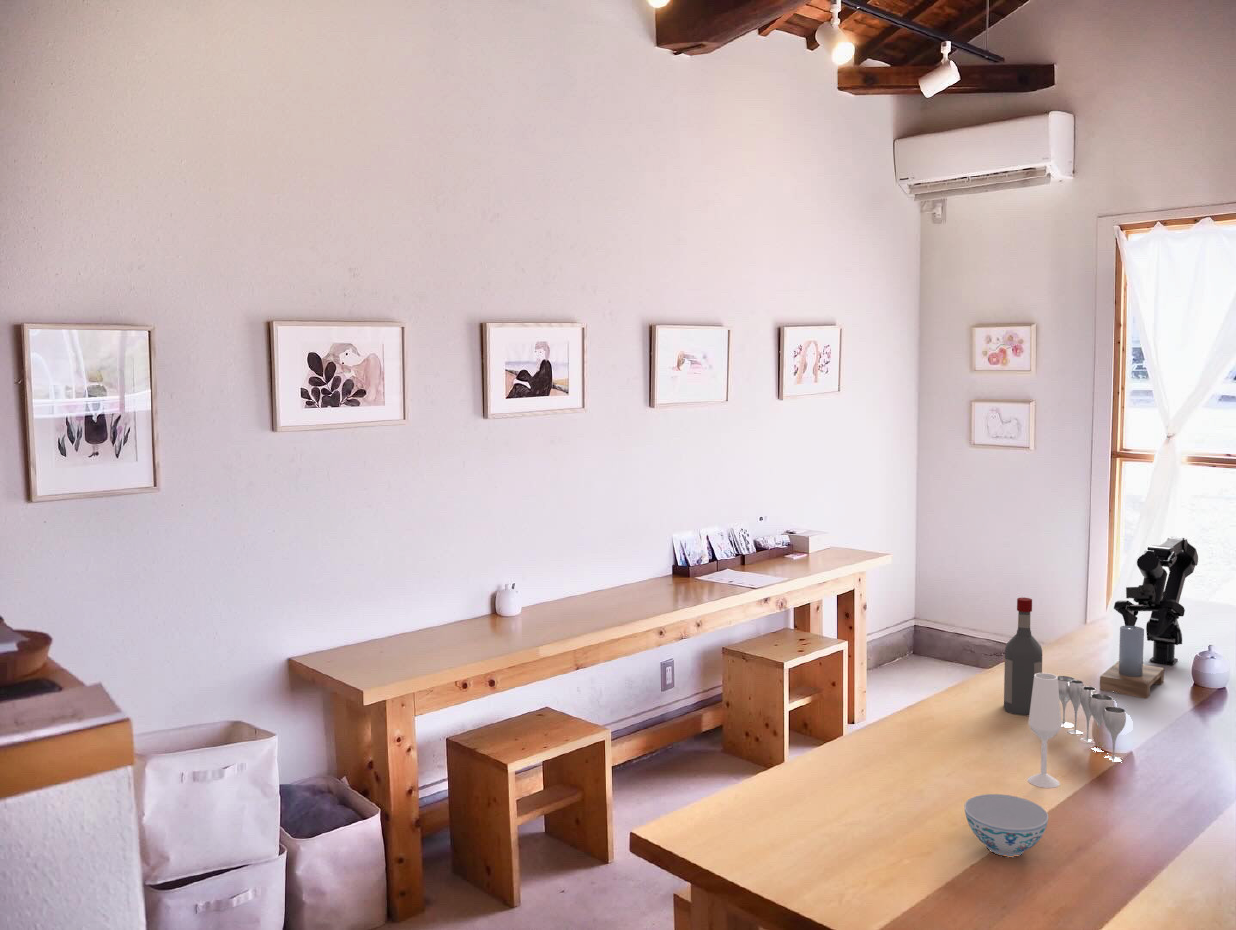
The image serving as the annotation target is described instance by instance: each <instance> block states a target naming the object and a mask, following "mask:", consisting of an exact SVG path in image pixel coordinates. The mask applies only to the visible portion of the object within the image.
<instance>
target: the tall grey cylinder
mask: <svg viewBox="0 0 1236 930" xmlns="http://www.w3.org/2000/svg"><path fill="white" fill-rule="evenodd" d="M1144 636H1145V628H1143V627H1141V626H1136V625H1135V626H1125V625H1121V626H1120V627H1119V651H1118V661H1119V674H1121V675H1124V676H1128V677H1141V676H1142V675H1143V665H1144V643H1145V642H1144V641H1145V638H1144Z"/></svg>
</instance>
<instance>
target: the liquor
mask: <svg viewBox="0 0 1236 930" xmlns="http://www.w3.org/2000/svg"><path fill="white" fill-rule="evenodd" d="M1016 611H1017V613H1018V614H1017V615H1018V616H1017V617H1018V618H1017V630H1016V633H1015V634H1014V635H1013V637H1011V639H1009V641H1008V642H1007V643H1006V645H1005V649H1004V677H1003V678H1004V680H1003V681H1004V683H1003V684H1004V687H1003V709H1004V711H1005V712H1007V713H1008V714H1009V713H1010V714H1012V715H1018V716H1019V715H1020V716H1027V715H1029V714H1030V706H1031V698H1032V690H1033V682H1034V675H1035V674H1037V673H1043V648H1042V645H1041V644H1040V643H1039V642H1038V641H1037V639H1035V637H1034V636H1033V635H1032V630H1031V613H1032V612H1033V599H1032V598H1030V597H1017V599H1016Z"/></svg>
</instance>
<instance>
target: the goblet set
mask: <svg viewBox="0 0 1236 930" xmlns="http://www.w3.org/2000/svg"><path fill="white" fill-rule="evenodd" d="M1056 676H1057V675H1056ZM1057 677H1058V689H1059V702H1061V705H1062V709H1063V712H1062V713H1063V714H1062V716H1063V719H1062V720H1061V728H1065V729H1066V728H1067V729H1068V730H1067V731H1066V732H1067V734H1070V735H1072V734H1083V733H1084V731H1082V732H1081V730H1079V729H1077V722H1078V721H1077V719H1078V711H1079V707H1080V705H1081V708H1082V710H1083V712H1084V715H1085V719H1086V737H1081V739H1080V738H1079V739H1080V740H1084V741H1087V742H1091V741H1092V739H1093V738H1090V737H1089V730H1090V728H1089V727H1090V721H1091V720H1090V719H1091V717H1092V718H1093V720H1094V721H1095V723H1096V724H1097V727H1098V726H1099V727H1098V729H1099V728H1100V725H1101V724H1102V723H1103V721H1104V724H1105V725H1104V727H1105V728H1106V730H1107V731H1108V732H1109V735H1110V737H1111V741H1112V742H1111V743H1112V755H1113V756H1109V755H1108V754H1107V755H1108V756H1106V755H1104V756H1105V757H1104V756H1103V757H1104V758H1109V760H1112V762H1111V763H1113V762H1121V761H1122V760H1121V759H1120V758H1122V757H1121V756H1118V755H1115V751H1116V750H1115V748H1116V742H1117V741H1116V740H1117V738H1118V735H1119V734H1121V732H1122V730H1124V728H1125V726H1126V721H1127V716H1126V715H1127V713H1126V710H1125V709H1123V708H1121V707H1117V706H1115V705H1114V699H1113V696H1111V695H1108V694H1104V693H1097V688H1095V687H1093V686H1086V685H1085V684H1084V682H1083V681H1082V680H1079V679H1078V680H1077V679H1075V678H1074V677H1071V676H1066V675H1058V676H1057ZM1084 685H1085V686H1084ZM1069 702H1071V704H1072V706H1073V711H1074V724H1073V723H1072V722H1071V721H1070V722H1069V721H1065V720H1066V718H1065V717H1066V709H1067V708H1066V707H1067V704H1068V703H1069ZM1073 727H1074V729H1069V728H1073ZM1083 735H1084V734H1083ZM1089 738H1090V739H1089ZM1091 749H1092V750H1094V751H1095V752H1094V751H1092V753H1096V751H1097V752H1104V751H1102V750H1101V748H1098V747H1097V748H1096V747H1094V748H1091ZM1117 756H1118V757H1117ZM1121 763H1122V762H1121Z"/></svg>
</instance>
